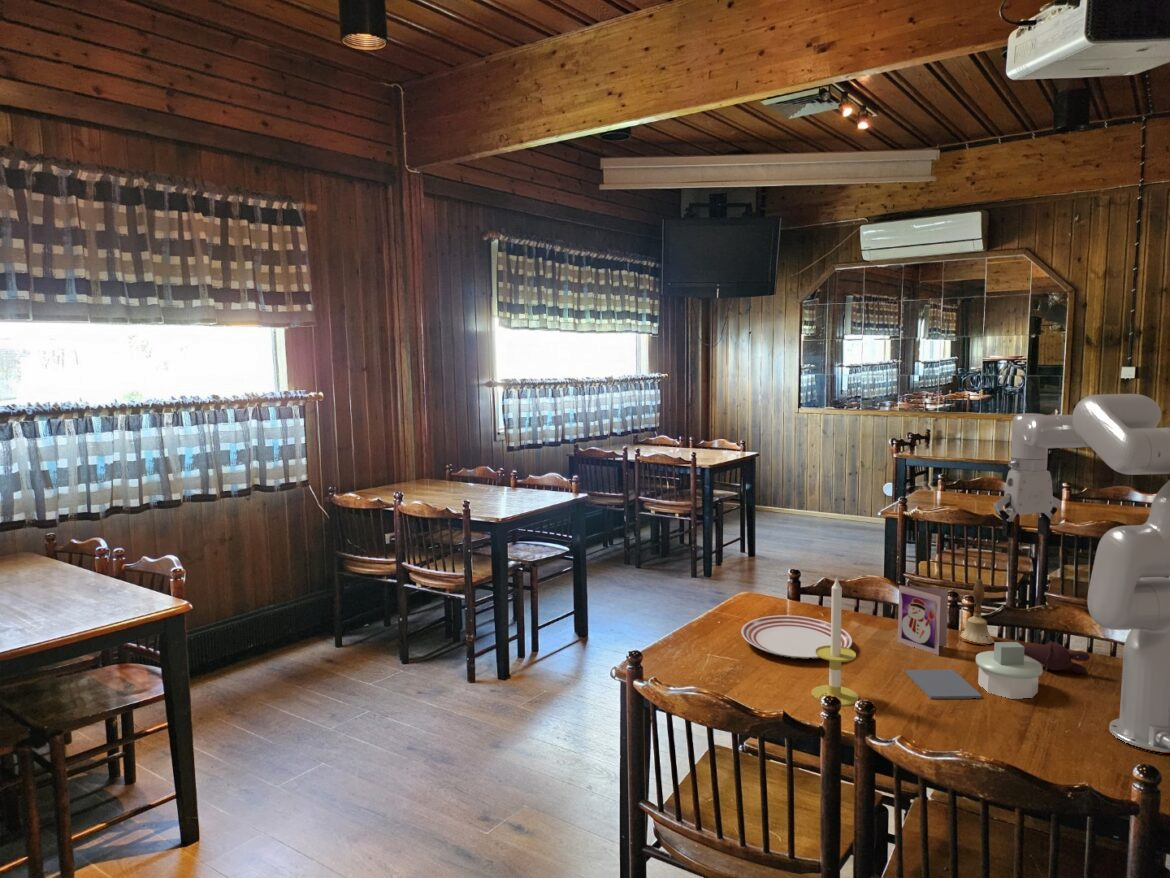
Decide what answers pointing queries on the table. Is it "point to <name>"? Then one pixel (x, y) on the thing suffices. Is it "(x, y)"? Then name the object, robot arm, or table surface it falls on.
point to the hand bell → (977, 619)
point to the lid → (1009, 661)
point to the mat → (943, 684)
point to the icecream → (1057, 657)
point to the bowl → (1007, 685)
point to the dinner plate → (791, 635)
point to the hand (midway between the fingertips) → (1025, 535)
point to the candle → (836, 654)
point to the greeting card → (923, 617)
